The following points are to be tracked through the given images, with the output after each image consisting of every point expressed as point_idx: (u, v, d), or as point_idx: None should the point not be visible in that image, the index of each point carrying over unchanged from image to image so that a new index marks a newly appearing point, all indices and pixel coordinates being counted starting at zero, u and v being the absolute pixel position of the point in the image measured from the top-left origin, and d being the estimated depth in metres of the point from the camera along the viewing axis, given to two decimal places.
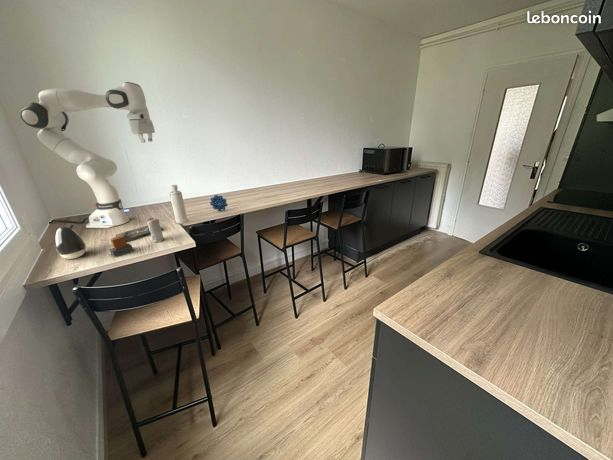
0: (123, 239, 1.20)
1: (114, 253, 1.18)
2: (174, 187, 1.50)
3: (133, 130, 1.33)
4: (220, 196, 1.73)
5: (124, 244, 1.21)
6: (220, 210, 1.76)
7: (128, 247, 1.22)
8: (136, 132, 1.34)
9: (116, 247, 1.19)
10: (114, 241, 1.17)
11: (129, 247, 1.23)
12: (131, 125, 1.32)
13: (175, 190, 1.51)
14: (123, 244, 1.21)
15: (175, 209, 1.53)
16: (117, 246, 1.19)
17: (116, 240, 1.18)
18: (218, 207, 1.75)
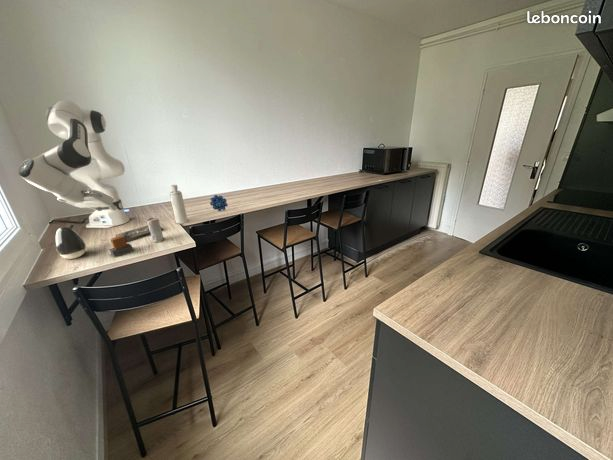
0: (123, 239, 1.20)
1: (114, 253, 1.18)
2: (174, 187, 1.50)
3: None
4: (220, 196, 1.73)
5: (124, 244, 1.21)
6: (220, 210, 1.76)
7: (128, 247, 1.22)
8: None
9: (116, 247, 1.19)
10: (114, 241, 1.17)
11: (129, 247, 1.23)
12: None
13: (175, 190, 1.51)
14: (123, 244, 1.21)
15: (175, 209, 1.53)
16: (117, 246, 1.19)
17: (116, 240, 1.18)
18: (218, 207, 1.75)
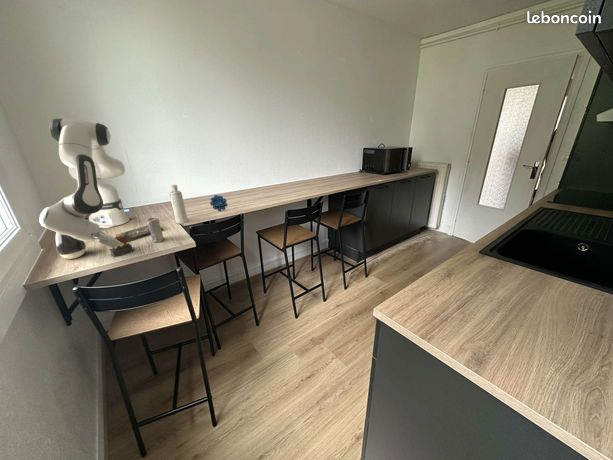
0: (123, 239, 1.20)
1: (114, 253, 1.18)
2: (174, 187, 1.50)
3: None
4: (220, 196, 1.73)
5: (124, 244, 1.21)
6: (220, 210, 1.76)
7: (128, 247, 1.22)
8: None
9: None
10: None
11: (129, 247, 1.23)
12: None
13: (175, 190, 1.51)
14: None
15: (175, 209, 1.53)
16: (117, 246, 1.19)
17: None
18: (218, 207, 1.75)
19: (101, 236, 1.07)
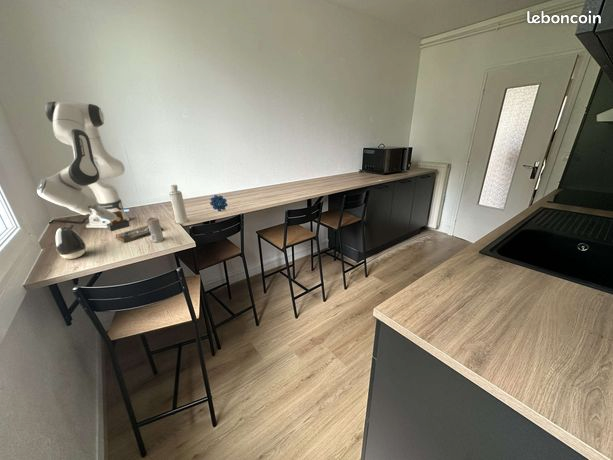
0: (119, 214, 1.22)
1: (111, 227, 1.20)
2: (174, 187, 1.50)
3: None
4: (220, 196, 1.73)
5: (121, 219, 1.23)
6: (220, 210, 1.76)
7: (125, 222, 1.24)
8: None
9: (113, 222, 1.21)
10: None
11: (126, 222, 1.25)
12: None
13: (175, 190, 1.51)
14: None
15: (175, 209, 1.53)
16: (114, 221, 1.21)
17: None
18: (218, 207, 1.75)
19: (98, 208, 1.09)
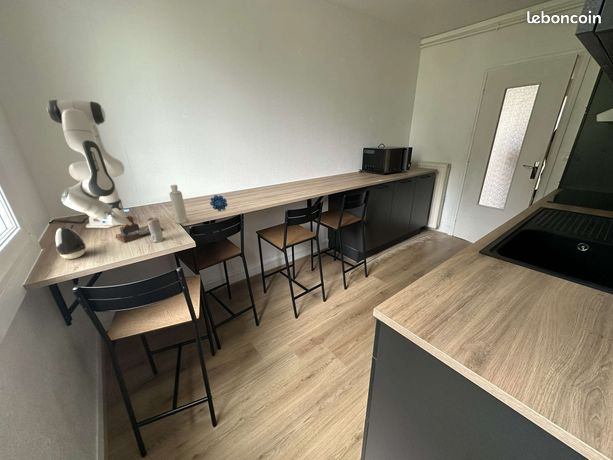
0: (131, 219, 1.36)
1: (123, 231, 1.34)
2: (174, 187, 1.50)
3: None
4: (220, 196, 1.73)
5: (132, 223, 1.37)
6: (220, 210, 1.76)
7: (135, 226, 1.39)
8: None
9: (125, 226, 1.35)
10: None
11: (136, 226, 1.39)
12: None
13: (175, 190, 1.51)
14: None
15: (175, 209, 1.53)
16: (126, 225, 1.35)
17: None
18: (218, 207, 1.75)
19: (113, 214, 1.24)
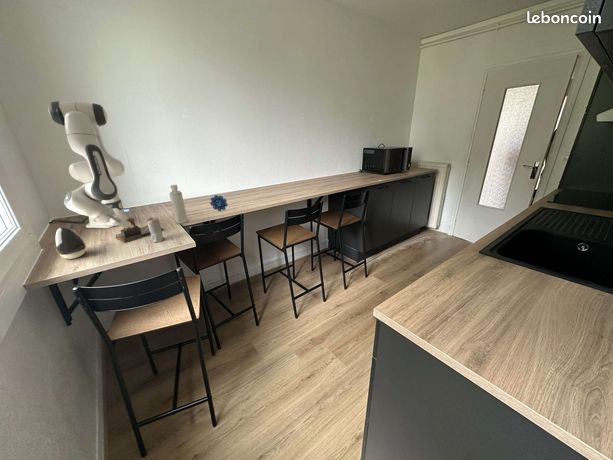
0: (132, 222, 1.37)
1: (124, 233, 1.35)
2: (174, 187, 1.50)
3: None
4: (220, 196, 1.73)
5: None
6: (220, 210, 1.76)
7: (137, 229, 1.39)
8: None
9: (126, 228, 1.36)
10: None
11: (137, 229, 1.40)
12: None
13: (175, 190, 1.51)
14: None
15: (175, 209, 1.53)
16: None
17: None
18: (218, 207, 1.75)
19: (115, 217, 1.25)
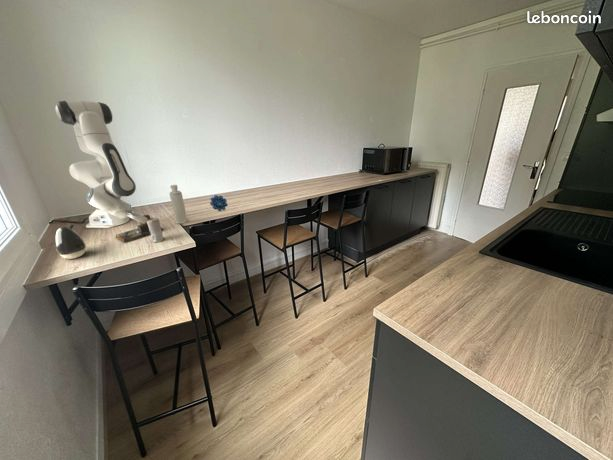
0: (148, 217, 1.43)
1: (141, 229, 1.41)
2: (174, 187, 1.50)
3: None
4: (220, 196, 1.73)
5: None
6: (220, 210, 1.76)
7: None
8: None
9: (143, 224, 1.42)
10: None
11: None
12: None
13: (175, 190, 1.51)
14: None
15: (175, 209, 1.53)
16: None
17: None
18: (218, 207, 1.75)
19: (133, 213, 1.31)
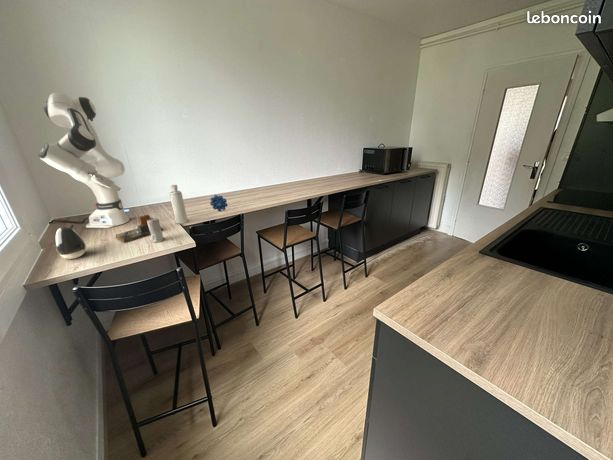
0: (148, 217, 1.43)
1: (141, 229, 1.41)
2: (174, 187, 1.50)
3: None
4: (220, 196, 1.73)
5: None
6: (220, 210, 1.76)
7: None
8: None
9: (143, 224, 1.42)
10: (141, 218, 1.41)
11: None
12: None
13: (175, 190, 1.51)
14: None
15: (175, 209, 1.53)
16: (144, 223, 1.42)
17: (143, 218, 1.41)
18: (218, 207, 1.75)
19: (97, 174, 1.15)
